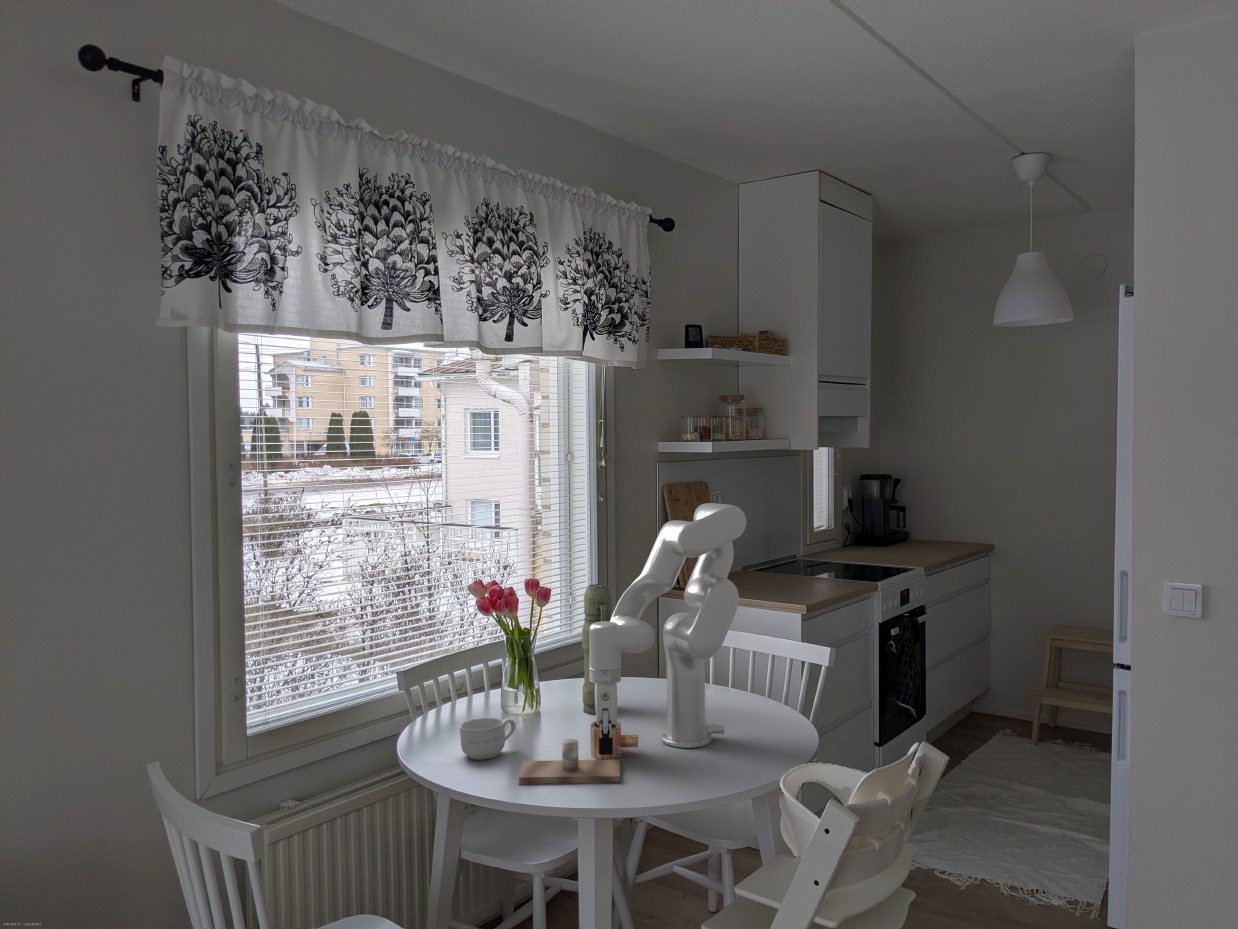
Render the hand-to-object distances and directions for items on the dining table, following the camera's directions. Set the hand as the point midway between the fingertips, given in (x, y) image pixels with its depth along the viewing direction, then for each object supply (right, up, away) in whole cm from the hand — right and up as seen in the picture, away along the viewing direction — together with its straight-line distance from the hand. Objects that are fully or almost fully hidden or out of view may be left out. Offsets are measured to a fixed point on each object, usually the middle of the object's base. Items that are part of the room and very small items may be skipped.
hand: (605, 748), depth 206 cm
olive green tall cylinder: (-3, -1, +35) cm, 35 cm away
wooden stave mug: (+2, -1, 0) cm, 3 cm away
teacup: (-28, -2, +1) cm, 28 cm away
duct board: (-8, -2, -13) cm, 15 cm away
